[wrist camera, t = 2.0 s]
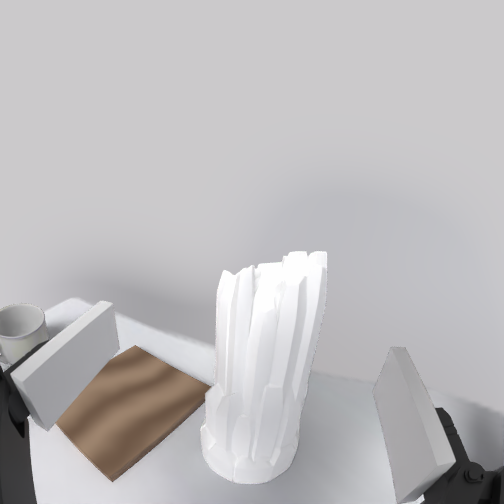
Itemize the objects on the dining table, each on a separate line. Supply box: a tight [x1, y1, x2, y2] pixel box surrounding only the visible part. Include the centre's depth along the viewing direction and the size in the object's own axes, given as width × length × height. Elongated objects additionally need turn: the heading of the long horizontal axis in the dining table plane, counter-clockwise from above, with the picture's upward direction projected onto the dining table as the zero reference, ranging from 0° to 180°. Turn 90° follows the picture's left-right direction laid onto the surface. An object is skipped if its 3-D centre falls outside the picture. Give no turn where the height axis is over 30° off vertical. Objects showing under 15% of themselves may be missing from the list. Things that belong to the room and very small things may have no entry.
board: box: [55, 345, 211, 482], centre depth 32 cm, size 16×20×1 cm
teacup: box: [0, 303, 49, 365], centre depth 33 cm, size 14×11×8 cm
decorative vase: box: [200, 251, 327, 484], centre depth 24 cm, size 11×11×25 cm
